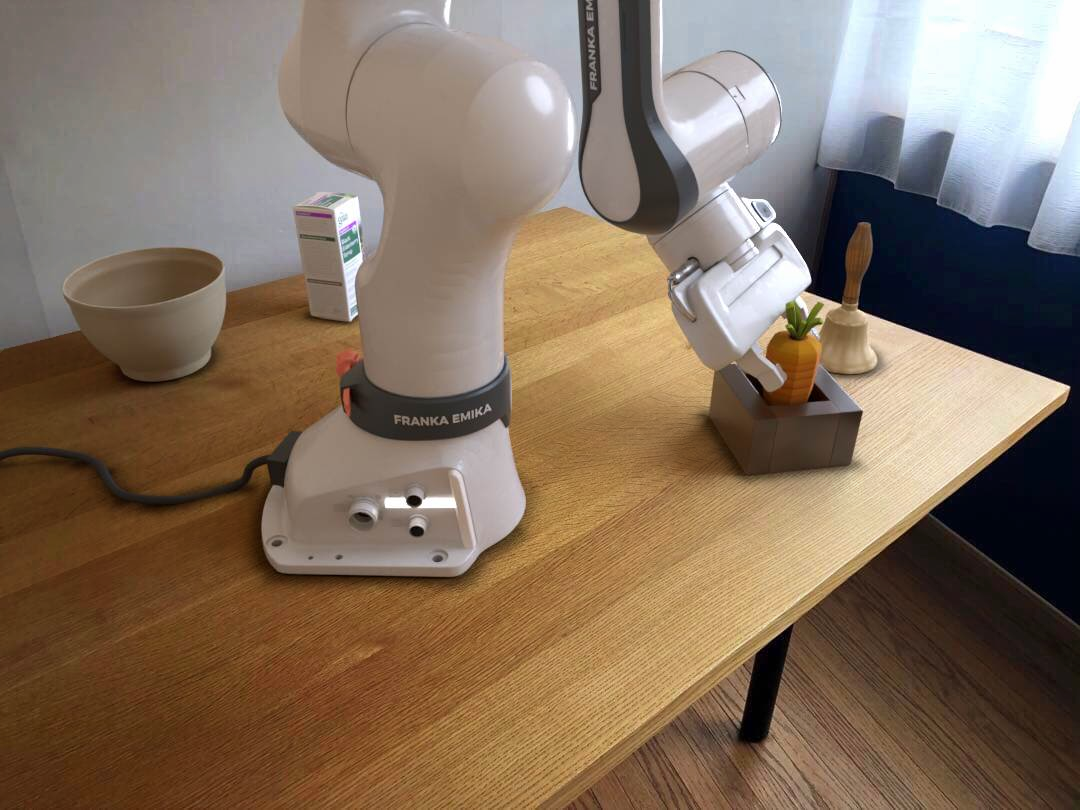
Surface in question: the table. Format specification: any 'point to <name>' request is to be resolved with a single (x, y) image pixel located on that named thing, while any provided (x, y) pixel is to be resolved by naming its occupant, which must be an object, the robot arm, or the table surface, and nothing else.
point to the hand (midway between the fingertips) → (796, 365)
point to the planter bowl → (151, 309)
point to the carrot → (795, 357)
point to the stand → (784, 424)
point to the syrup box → (330, 252)
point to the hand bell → (850, 315)
